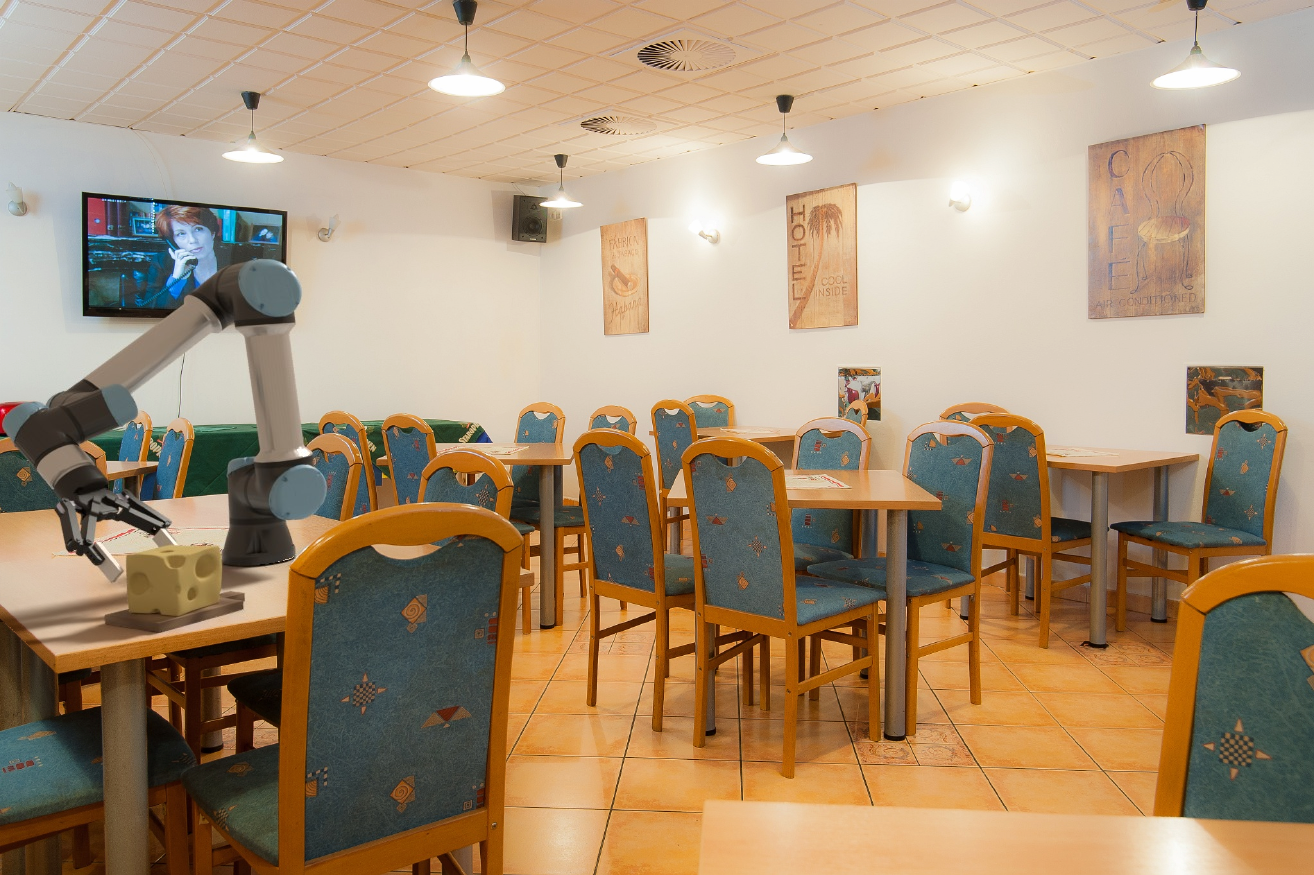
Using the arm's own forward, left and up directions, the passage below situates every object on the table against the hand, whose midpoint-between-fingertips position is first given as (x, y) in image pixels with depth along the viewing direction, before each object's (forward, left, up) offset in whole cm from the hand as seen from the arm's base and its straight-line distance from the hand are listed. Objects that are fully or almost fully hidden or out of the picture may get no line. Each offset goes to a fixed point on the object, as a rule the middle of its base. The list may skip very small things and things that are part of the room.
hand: (150, 568), depth 151 cm
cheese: (-1, +5, -7) cm, 8 cm away
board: (-3, +5, -8) cm, 10 cm away
